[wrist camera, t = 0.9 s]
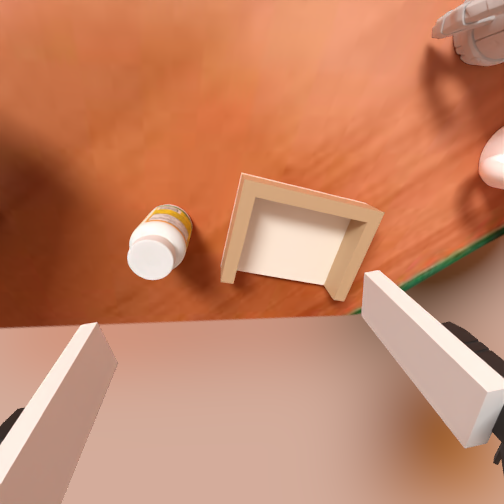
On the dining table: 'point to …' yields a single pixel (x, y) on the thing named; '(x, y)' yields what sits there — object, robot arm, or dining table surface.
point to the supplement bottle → (159, 242)
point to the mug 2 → (493, 161)
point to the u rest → (297, 234)
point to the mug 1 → (475, 31)
